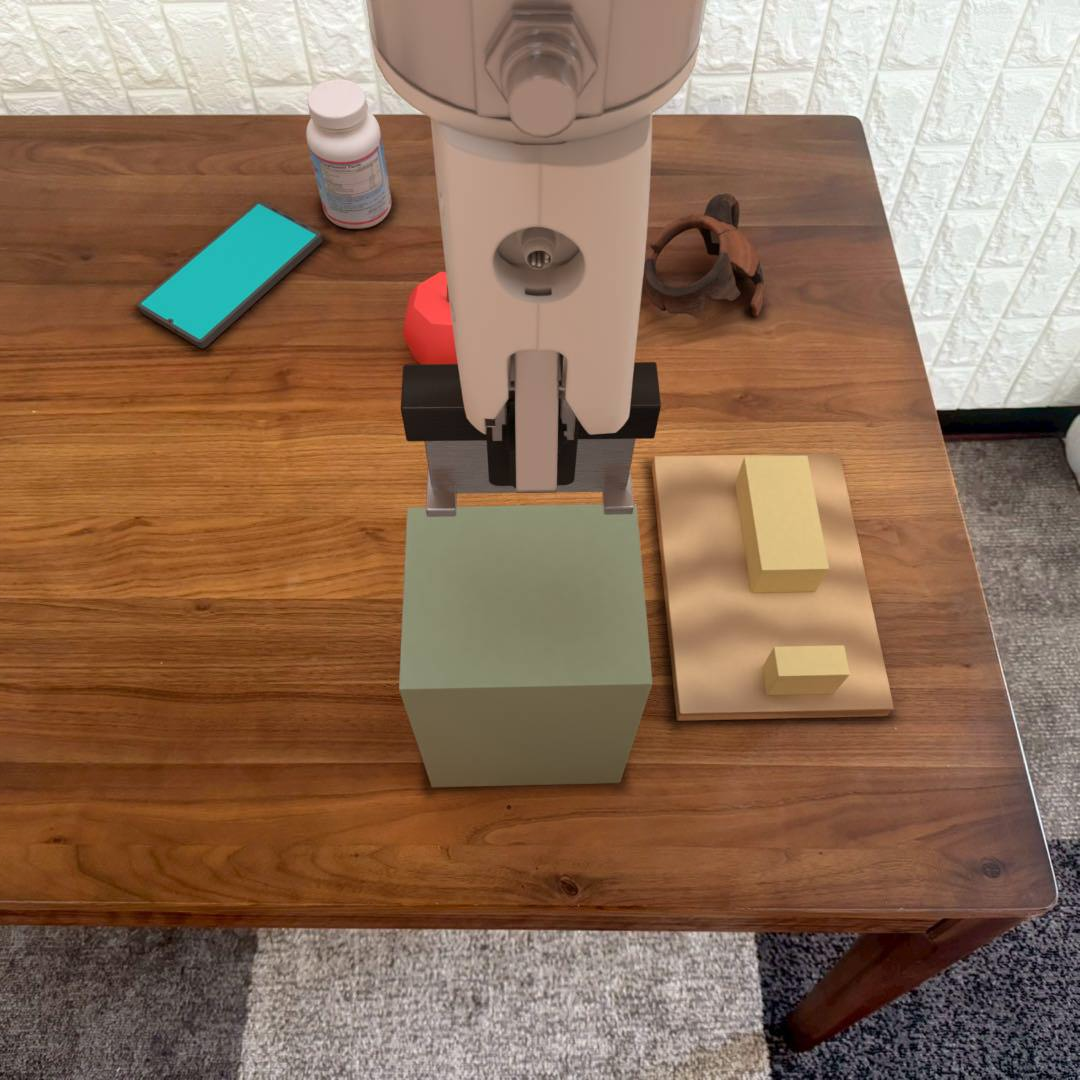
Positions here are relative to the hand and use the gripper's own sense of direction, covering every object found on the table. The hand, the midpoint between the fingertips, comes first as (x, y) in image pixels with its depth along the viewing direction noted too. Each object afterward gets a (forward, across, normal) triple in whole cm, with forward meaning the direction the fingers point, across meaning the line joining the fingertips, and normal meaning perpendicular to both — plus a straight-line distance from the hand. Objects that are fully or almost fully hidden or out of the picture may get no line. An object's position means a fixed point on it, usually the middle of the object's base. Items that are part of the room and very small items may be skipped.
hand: (530, 446), depth 37 cm
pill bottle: (+31, +47, +14) cm, 58 cm away
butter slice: (+29, +1, -18) cm, 34 cm away
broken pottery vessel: (+31, +37, -16) cm, 50 cm away
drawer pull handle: (+3, 0, 0) cm, 3 cm away
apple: (+31, +30, +5) cm, 43 cm away
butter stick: (+29, +12, -18) cm, 36 cm away
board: (+30, +9, -17) cm, 36 cm away
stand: (+30, 0, 0) cm, 30 cm away
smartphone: (+31, +39, +24) cm, 55 cm away
